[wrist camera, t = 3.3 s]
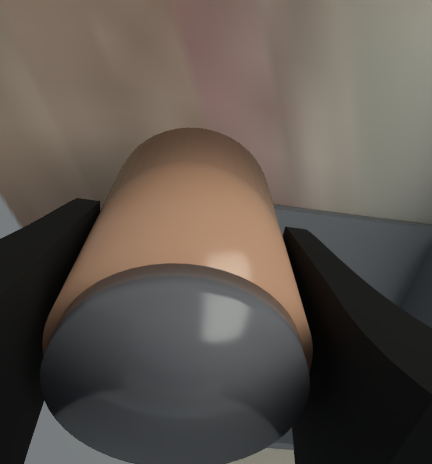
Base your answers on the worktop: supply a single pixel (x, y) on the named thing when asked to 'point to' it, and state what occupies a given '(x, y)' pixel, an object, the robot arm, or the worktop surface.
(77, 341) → the jar
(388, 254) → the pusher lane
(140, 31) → the worktop surface
